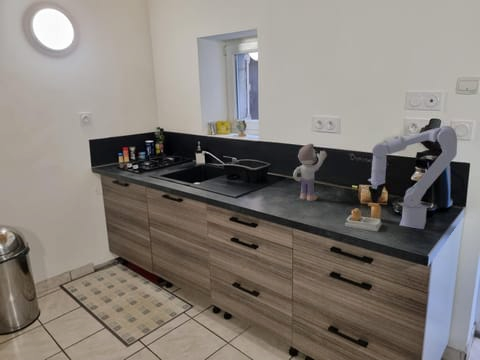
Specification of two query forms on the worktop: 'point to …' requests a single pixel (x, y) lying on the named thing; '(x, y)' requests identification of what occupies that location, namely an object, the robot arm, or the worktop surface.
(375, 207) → the peg
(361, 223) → the housing
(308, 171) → the toy
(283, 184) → the worktop surface
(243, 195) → the worktop surface
